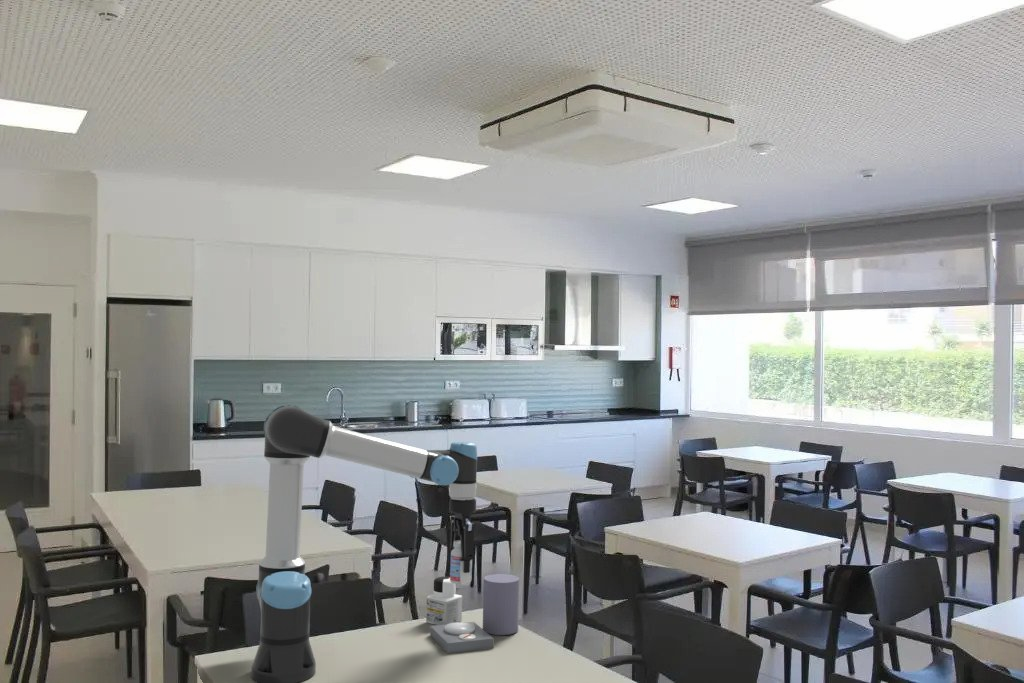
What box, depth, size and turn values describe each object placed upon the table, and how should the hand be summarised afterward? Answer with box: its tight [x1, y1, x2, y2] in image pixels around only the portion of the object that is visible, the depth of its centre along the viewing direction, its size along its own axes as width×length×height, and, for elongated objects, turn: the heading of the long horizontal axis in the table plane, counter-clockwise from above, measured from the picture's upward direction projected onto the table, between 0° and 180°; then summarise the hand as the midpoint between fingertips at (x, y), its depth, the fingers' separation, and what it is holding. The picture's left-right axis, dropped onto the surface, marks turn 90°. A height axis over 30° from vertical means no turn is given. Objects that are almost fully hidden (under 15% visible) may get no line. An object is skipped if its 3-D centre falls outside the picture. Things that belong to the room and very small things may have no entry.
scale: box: [429, 621, 494, 654], centre depth 234 cm, size 13×16×4 cm
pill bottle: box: [449, 540, 473, 585], centre depth 237 cm, size 6×6×11 cm
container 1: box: [425, 576, 463, 626], centre depth 253 cm, size 8×8×13 cm
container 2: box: [482, 573, 520, 637], centre depth 245 cm, size 10×10×15 cm
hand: (461, 580), depth 236 cm, fingers closed on pill bottle, 6 cm apart
